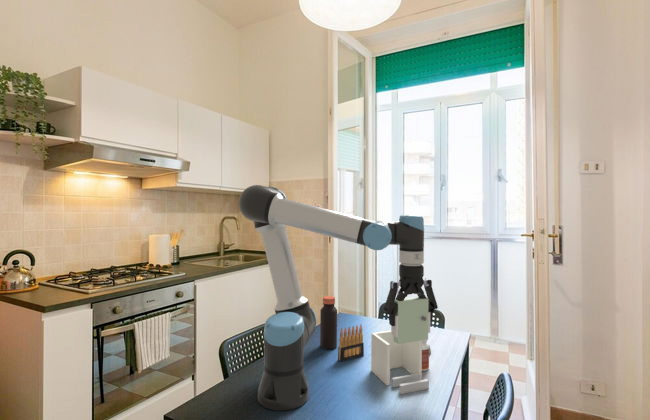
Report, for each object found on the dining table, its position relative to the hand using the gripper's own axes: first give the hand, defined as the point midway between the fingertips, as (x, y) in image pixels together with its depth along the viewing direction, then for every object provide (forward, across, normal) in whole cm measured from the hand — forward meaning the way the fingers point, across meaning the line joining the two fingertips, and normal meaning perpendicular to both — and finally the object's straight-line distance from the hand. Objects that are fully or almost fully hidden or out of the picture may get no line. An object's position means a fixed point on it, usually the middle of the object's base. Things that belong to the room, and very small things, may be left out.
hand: (410, 333), depth 109 cm
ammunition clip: (+17, -9, +26) cm, 32 cm away
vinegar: (+17, -14, +38) cm, 44 cm away
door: (+2, 0, 0) cm, 2 cm away
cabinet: (+17, 0, +6) cm, 18 cm away
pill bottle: (+17, +11, +11) cm, 23 cm away
